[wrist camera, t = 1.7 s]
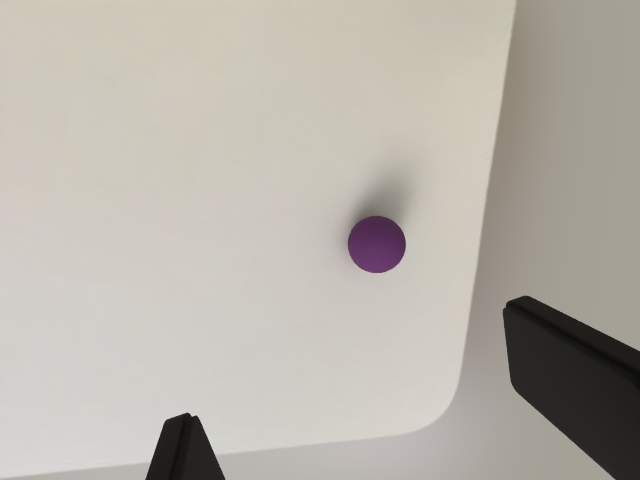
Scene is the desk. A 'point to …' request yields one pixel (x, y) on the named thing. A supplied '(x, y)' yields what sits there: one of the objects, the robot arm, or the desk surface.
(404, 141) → the desk surface
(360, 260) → the ball
